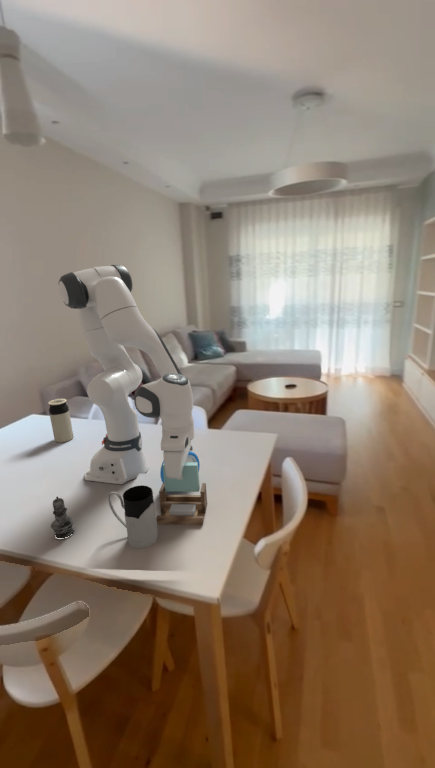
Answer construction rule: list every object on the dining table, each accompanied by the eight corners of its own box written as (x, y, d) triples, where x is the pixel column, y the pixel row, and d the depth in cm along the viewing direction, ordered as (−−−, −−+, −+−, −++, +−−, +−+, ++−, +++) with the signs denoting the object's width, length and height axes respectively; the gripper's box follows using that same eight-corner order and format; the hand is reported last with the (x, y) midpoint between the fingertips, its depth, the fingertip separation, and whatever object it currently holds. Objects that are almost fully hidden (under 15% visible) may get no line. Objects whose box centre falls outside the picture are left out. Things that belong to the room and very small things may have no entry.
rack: (157, 528, 106) (154, 501, 104) (165, 507, 116) (163, 482, 113) (203, 529, 105) (201, 502, 102) (207, 507, 114) (205, 482, 112)
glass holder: (148, 557, 95) (142, 506, 91) (103, 544, 101) (95, 495, 97) (166, 535, 103) (161, 487, 99) (124, 524, 109) (117, 478, 104)
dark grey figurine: (57, 528, 109) (49, 491, 105) (77, 526, 109) (71, 489, 106) (50, 541, 103) (42, 503, 100) (72, 539, 104) (64, 501, 100)
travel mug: (69, 442, 166) (62, 403, 161) (51, 443, 166) (44, 404, 161) (76, 435, 173) (69, 397, 168) (59, 435, 174) (52, 398, 168)
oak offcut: (165, 520, 107) (164, 515, 106) (167, 513, 110) (167, 508, 109) (196, 521, 106) (196, 516, 105) (198, 514, 109) (197, 509, 109)
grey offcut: (169, 515, 106) (169, 510, 106) (172, 509, 109) (171, 504, 109) (194, 516, 106) (194, 511, 105) (196, 509, 109) (195, 504, 108)
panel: (165, 491, 111) (162, 465, 108) (166, 487, 112) (163, 462, 110) (198, 491, 110) (197, 465, 107) (199, 488, 111) (197, 462, 109)
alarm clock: (175, 500, 119) (171, 457, 115) (161, 494, 123) (156, 452, 118) (201, 481, 129) (198, 441, 125) (187, 476, 133) (184, 437, 128)
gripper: (174, 417, 116) (176, 458, 120) (158, 448, 96) (162, 495, 100) (194, 417, 115) (196, 458, 119) (183, 448, 96) (185, 496, 100)
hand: (180, 475), depth 110 cm, fingers closed on panel, 2 cm apart
